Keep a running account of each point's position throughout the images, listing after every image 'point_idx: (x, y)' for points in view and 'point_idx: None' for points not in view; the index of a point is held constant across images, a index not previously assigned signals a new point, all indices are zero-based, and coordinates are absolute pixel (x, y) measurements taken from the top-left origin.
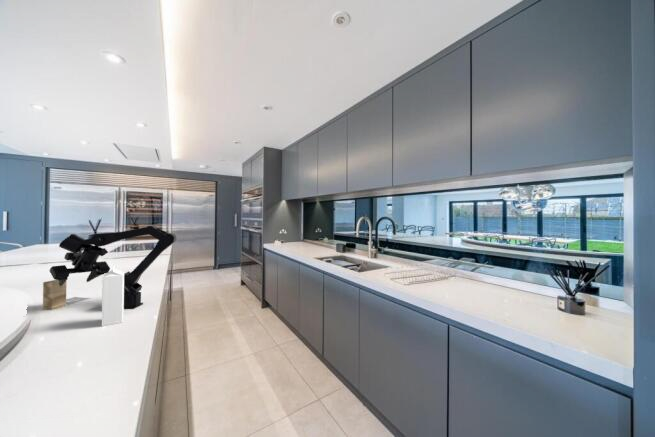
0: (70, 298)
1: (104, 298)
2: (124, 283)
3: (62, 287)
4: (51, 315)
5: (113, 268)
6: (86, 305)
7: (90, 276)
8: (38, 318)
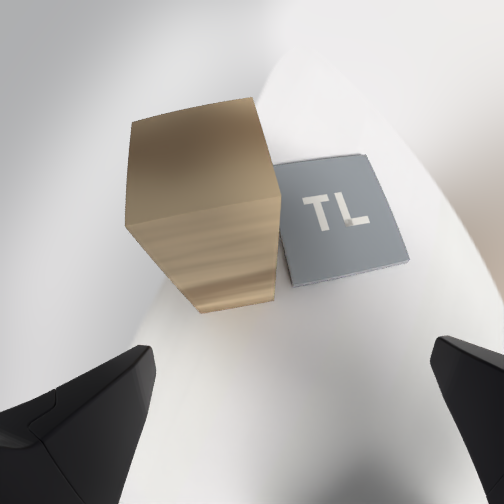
0: (345, 162)
1: None
2: None
3: (243, 244)
4: (161, 402)
5: None
6: (344, 384)
7: (487, 410)
8: None
